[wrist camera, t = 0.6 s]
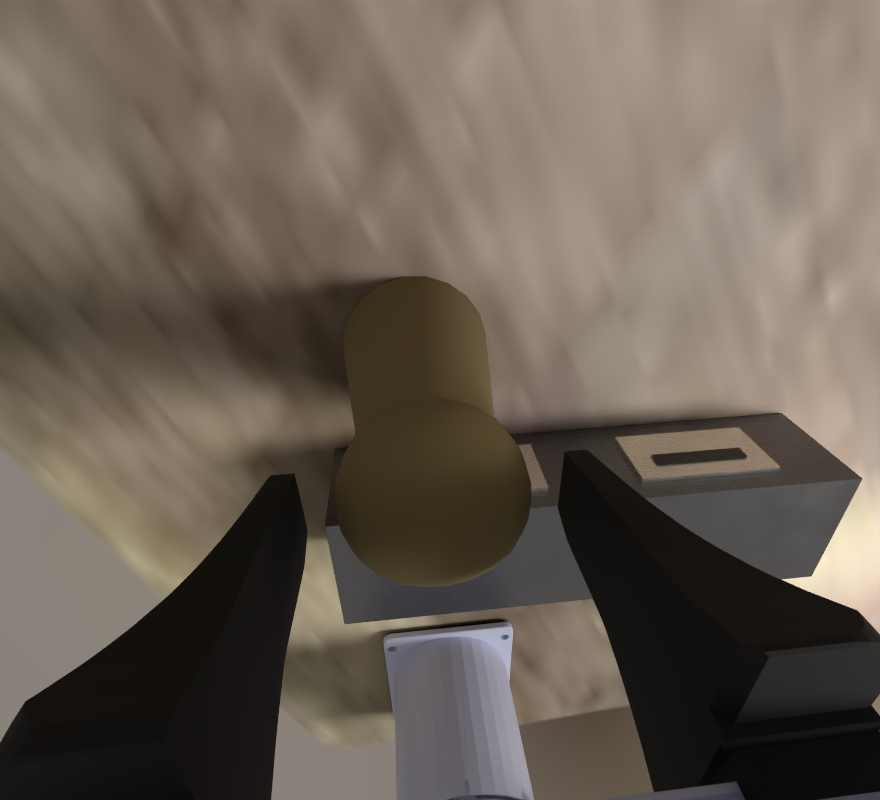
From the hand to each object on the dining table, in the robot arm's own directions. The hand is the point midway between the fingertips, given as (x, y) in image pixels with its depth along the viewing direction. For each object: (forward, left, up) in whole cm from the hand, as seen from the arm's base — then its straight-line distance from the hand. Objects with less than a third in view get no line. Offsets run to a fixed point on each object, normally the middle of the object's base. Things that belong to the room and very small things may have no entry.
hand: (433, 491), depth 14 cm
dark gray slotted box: (-8, -7, -9) cm, 14 cm away
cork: (0, 0, -9) cm, 9 cm away
